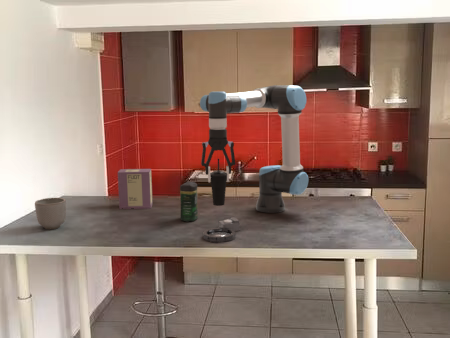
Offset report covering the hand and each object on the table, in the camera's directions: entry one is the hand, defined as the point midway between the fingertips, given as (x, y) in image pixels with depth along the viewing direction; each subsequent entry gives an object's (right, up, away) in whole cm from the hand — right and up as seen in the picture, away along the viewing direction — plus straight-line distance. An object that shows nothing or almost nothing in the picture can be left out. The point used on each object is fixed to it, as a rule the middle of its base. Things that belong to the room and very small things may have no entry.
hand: (218, 181), depth 226 cm
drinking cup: (0, -10, +2) cm, 10 cm away
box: (-46, -15, +60) cm, 77 cm away
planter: (-79, -22, +23) cm, 85 cm away
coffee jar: (-15, -20, +34) cm, 42 cm away
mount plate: (0, -25, +5) cm, 25 cm away
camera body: (+5, -23, +16) cm, 28 cm away
